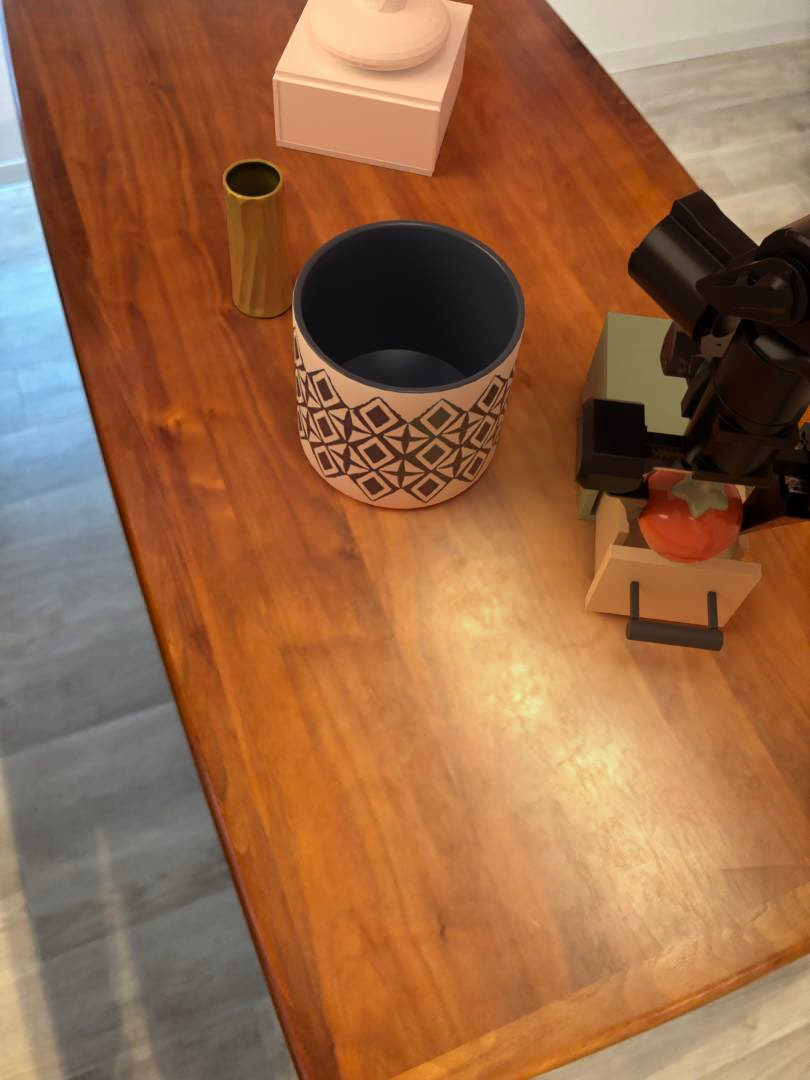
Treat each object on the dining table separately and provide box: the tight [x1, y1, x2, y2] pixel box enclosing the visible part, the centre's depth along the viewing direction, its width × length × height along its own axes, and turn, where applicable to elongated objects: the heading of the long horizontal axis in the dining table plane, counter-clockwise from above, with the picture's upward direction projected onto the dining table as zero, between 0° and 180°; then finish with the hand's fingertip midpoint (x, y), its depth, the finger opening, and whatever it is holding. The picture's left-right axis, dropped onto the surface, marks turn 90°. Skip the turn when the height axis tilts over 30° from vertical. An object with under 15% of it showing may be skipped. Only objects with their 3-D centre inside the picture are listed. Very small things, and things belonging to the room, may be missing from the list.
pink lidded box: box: [271, 0, 474, 178], centre depth 107 cm, size 18×18×16 cm
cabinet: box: [577, 311, 754, 522], centre depth 87 cm, size 15×13×11 cm
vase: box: [222, 158, 295, 319], centre depth 93 cm, size 6×6×14 cm
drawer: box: [584, 470, 763, 652], centre depth 81 cm, size 18×11×9 cm, turn 174°
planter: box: [291, 219, 527, 509], centre depth 85 cm, size 18×18×16 cm
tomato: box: [637, 470, 744, 564], centre depth 71 cm, size 7×7×8 cm
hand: (682, 523), depth 73 cm, fingers closed on tomato, 7 cm apart
